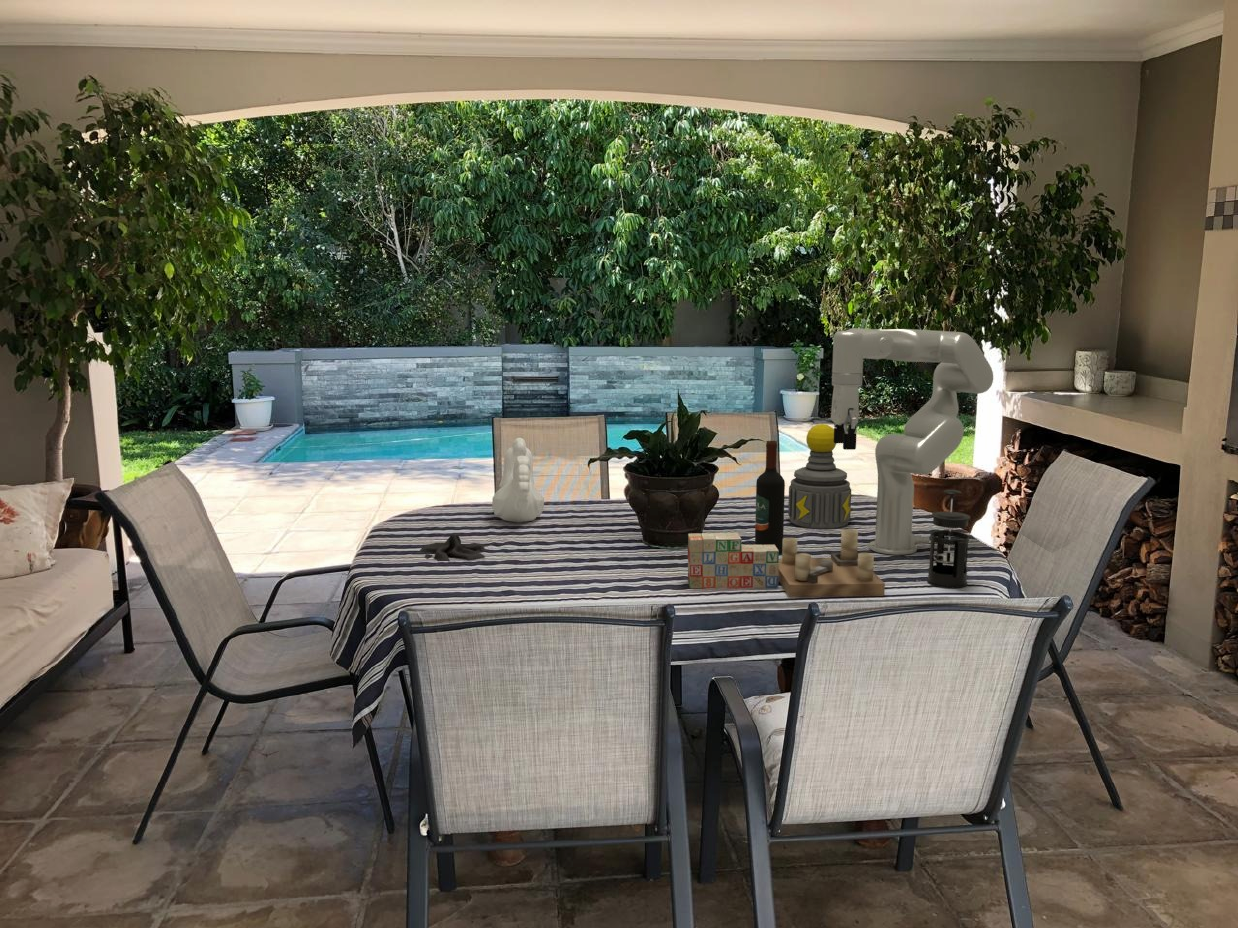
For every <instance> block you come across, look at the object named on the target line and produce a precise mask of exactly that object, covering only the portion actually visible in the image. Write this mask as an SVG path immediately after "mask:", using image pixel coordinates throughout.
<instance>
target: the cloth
mask: <svg viewBox="0 0 1238 928" xmlns="http://www.w3.org/2000/svg"><path fill="white" fill-rule="evenodd" d="M485 551H486V547H485V546H484V545H482V544H480V543H478V542H471V543H466V544H462V540H461V537H460V534H458V533H456V532H455V533H451V534H450V535H449V537H448V538H447V540H446V541H445V542H432V543H430V544H427V545H425V546H422V547H421V548H420V550H419V551H418V553H425V555H424V558H425V559H427V560H429V559H430V558H432V557H433V554H434V557H433V559H434V560H436V561H437V562H439V561H450V558H459V559H460V558H461V559H463V560H465V561H469V562H470V561H475V560H480V559H481V560H482V559H485V558H486V556H485V555H484V554H482V553H481V552H485ZM430 553H431V554H430ZM450 562H451V561H450Z"/></svg>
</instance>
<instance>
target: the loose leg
mask: <svg viewBox="0 0 1238 928" xmlns="http://www.w3.org/2000/svg"><path fill="white" fill-rule="evenodd" d="M858 538H859V530H857V529H855V528H844V529H841V537H840V553H841V558H840V561H857V553H858V545H859V544H858V541H859V539H858Z"/></svg>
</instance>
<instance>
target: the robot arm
mask: <svg viewBox="0 0 1238 928" xmlns="http://www.w3.org/2000/svg"><path fill="white" fill-rule="evenodd" d="M832 347H833V348H832V349H833V350H832V368H831V369H832V370H831V372H832V373H831V386H832V387H833V391H832V398H831V412H830V420H831V421H832V422H833V423H834V424H833V426H834V427H833V429H834V443H837V444H842V448H843V450H847V451H849V450H851V451H852V450H856V449H857V432H858V431H857V428H858V426H857V425H858V423H859V415H860V414H859V409H860V401H859V400H860V398H859V397H860V394H859V393H860V391H859V389H860V388H859V387H862V386H863V369H864V359H869V360H870V359H871V360H881V359H884V360H891V361H896V362H899V361H900V362H909V363H910V362H912V363H917V362H918V363H920V362H921V363H939V364H937V366H936V368H935V369H934V372H933V381H932V382H933V385H932V387H933V389H932V394H931V397H930V399H929V400H928V401H926V403H925V404H924V405H922V406H921V408H920V409H919V410H918V411H916V412H915V413H914V414H913V415H912V416H911V417H910V418H909V419H908V420H907V422H906V423H905V424H904V427H903V434H901V433H889V434H885V435H884V436H882V437H881V438H880V439H879V440H878V441H877V443H876V445H875V449H874V450H875V451H874V452H875V453H874V456H875V461H876V467H877V494H876V514H875V515H876V516H875V517H876V518H875V534H874V535H875V538H874V540H873V541H870V542H869V543H868V548H869V549H870V550H871V551H873V552H875V553H879V554H885V555H894V556H895V555H896V556H899V555H900V556H901V555H911V554H914V553H916V552H917V550H918V546H917V545H918V544H930V536H928V535H927V536H925V535H924V536H923V535H922V534H921V535H920V534H919V535H918V534H916V535H915V534H914V533H913V517H914V516H913V515H914V497H915V496H914V495H915V484H914V479H913V476H912V474H913V475H921V476H922V475H923V476H924V475H929V474H931V473H933V472H934V471H935V470H936V469H937V468H939V467H940V466H941V465H942V464H943V463H944V462H945V461H946V459H948V458H949V457H950V456H951V455H952V454H953V453H954V452H955V451H956V450H957V449H958V447H959V446H960V444H961V443H962V440H963V437H964V430H965V429H964V424H963V423H962V421H961V420H960V418H958V417H957V416H958V415H959V409H960V406H959V403H958V402H959V401H958V396H957V393H959V392H960V393H968V394H975V395H977V394H983V393H986V392H987V391H989V389H990V388H991V387H992V386H993V383H994V371H993V368H992V366H991V365H990V362H989V361H988V360H987V358H986V356H985V355H984V353H983V350H981V348H980V346H979V345H978V344H977V342H976V340H974V339H973V337H972V336H970V335H969V334H968V333H966V332H961V331H946V330H930V329H913V328H912V329H911V328H895V329H892V328H891V329H881V328H880V329H877V328H876V329H874V328H872V329H871V328H858V327H857V328H856V327H854V328H853V327H852V328H849V329H847V330H838V331H836V332H835V333H834V335H833V346H832Z"/></svg>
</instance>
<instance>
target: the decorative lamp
mask: <svg viewBox="0 0 1238 928" xmlns="http://www.w3.org/2000/svg"><path fill="white" fill-rule="evenodd" d="M806 434H807V435H806V438H805V439H806V445H807V447H808V449H810V451H809V456H808V458H807V461H808V462H807V463H806V464H805V466H803V467H800V468H798V469H796V470H795V471H794V473H793V477H794V478H793V479H791V480H790V485H789V487H788V504H787V506H788V507H787V508H788V509H787V514H788V517H789V522H791V524H792V525H795V526H797V527H801V528H807V529H816V530H817V529H818V530H831V529H832V530H833V529H839V528H844V527H845V526H847V525H848V524H849V521H850V519H851V514H852V513H851V511H852V507H851V506H852V489H851V483H850V481H848V480H847V478H848V473H847V471H844V470H843V469H841V468H837V467H836V463H834V462H835V457H833V455H834V453H833V450H834V449H835V448H836V446H837V444H838V443H834V427H833V426H831V425H829V424H825V423H818V424H815V425H813V426H812V427H811V428H810V429H809V430H808V431H807V433H806Z"/></svg>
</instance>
